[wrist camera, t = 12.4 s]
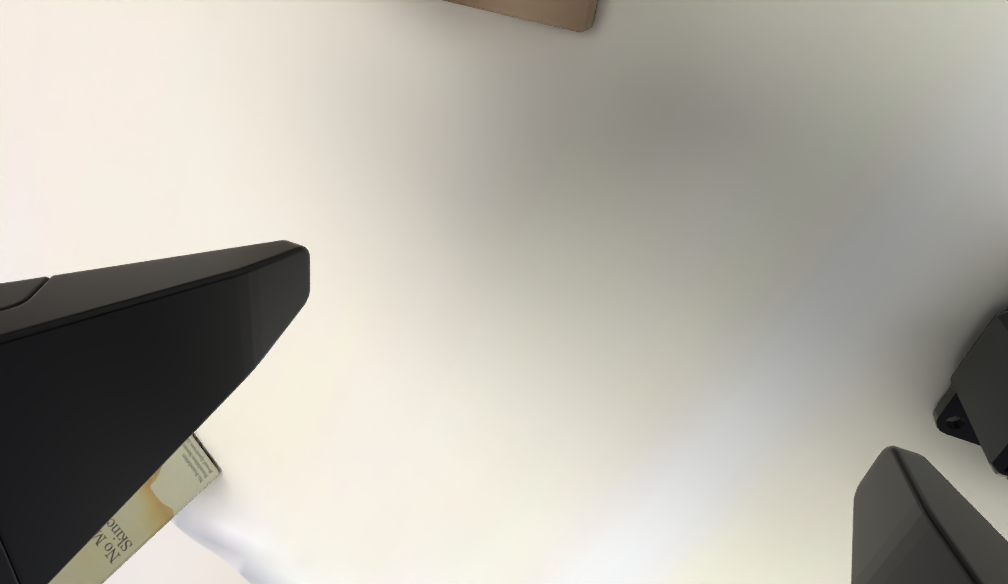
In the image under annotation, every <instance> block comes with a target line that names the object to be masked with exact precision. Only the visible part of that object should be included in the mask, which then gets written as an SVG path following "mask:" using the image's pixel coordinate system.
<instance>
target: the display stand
mask: <svg viewBox="0 0 1008 584" xmlns="http://www.w3.org/2000/svg"><path fill="white" fill-rule="evenodd" d="M444 1H448V2H452V3H457V4H461V5H465V6H470V7H474V8H478V9H482V10H487V11H491V12H495V13H500V14H504V15H508V16H512V17H517V18H521V19H525V20H529V21H534V22H538V23H542V24H547V25H551V26H555V27H559V28H564V29H568V30H572V31H577V32H582V31H584V30H586V29H589V28H591V27H592V24H593V20H594V15H595V11H596V7H597V2H598V0H444Z"/></svg>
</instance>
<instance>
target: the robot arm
mask: <svg viewBox="0 0 1008 584" xmlns="http://www.w3.org/2000/svg"><path fill="white" fill-rule="evenodd" d="M309 293H310V254H309V251H308V250H307V248H306V247H304V246H301V245H299V244H296V243H293V242H290V241H286V240H280V241H274V242H267V243H261V244H254V245H248V246H241V247H235V248H228V249H222V250H216V251H209V252H203V253H196V254H190V255H183V256H177V257H170V258H164V259H157V260H151V261H144V262H138V263H132V264H125V265H119V266H112V267H106V268H99V269H93V270H86V271H80V272H73V273H67V274H60V275H54V276H52V277H51V278H50V279H49V278H48V277H40V278H34V279H27V280H21V281H14V282H7V283H0V584H49V583H50V582H51V581H52V580H53V579H54V578H55V577H56V575H57V574H58V573H59V572H60V571H61V570H62V569H63V568H64V567H65V566H66V565H67V564H68V563H69V562H70V561H71V560H72V559H73V558H74V557H75V556H76V555H77V554H78V553H79V552H80V551H81V549H82V548H83V547H84V546H85V545H86V544H87V543H88V542H89V541H90V540H91V539H92V538H93V537H94V536H95V535H96V534H97V533H98V532H99V531H100V530H101V529H102V528H103V527H104V526H105V525H106V523H107V522H108V521H109V520H110V519H111V518H112V517H113V516H114V515H115V514H116V513H117V512H118V511H119V510H120V509H121V508H122V507H123V506H124V505H125V504H126V503H127V502H128V501H129V500H130V498H131V497H132V496H133V495H134V494H135V493H136V492H137V491H138V490H139V489H140V488H141V487H142V486H143V485H144V484H145V483H146V482H147V481H148V480H149V479H150V478H151V477H152V476H153V475H154V474H155V472H156V471H157V470H158V469H159V468H160V467H161V466H162V465H163V464H164V463H165V462H166V461H167V460H168V459H169V458H170V457H171V456H172V455H173V454H174V453H175V452H176V451H177V450H178V449H179V448H180V446H181V445H182V444H183V443H184V442H185V441H186V440H187V439H188V438H189V437H190V436H191V435H192V434H193V433H194V432H195V431H196V430H197V429H198V428H199V427H200V426H201V425H202V424H203V423H204V421H205V420H206V419H207V418H208V417H209V416H210V415H211V414H212V413H213V412H214V411H215V410H216V409H217V408H218V407H219V406H220V405H221V404H222V403H223V402H224V401H225V400H226V399H227V398H228V397H229V395H230V394H231V393H232V392H233V391H234V390H235V389H236V388H237V387H238V386H239V385H240V384H241V383H242V382H243V381H244V380H245V379H246V378H247V377H248V375H249V374H250V373H251V372H252V371H253V370H254V369H255V368H256V366H257V365H258V364H259V363H260V362H261V360H262V359H263V358H264V357H265V355H266V354H267V353H268V351H269V350H270V349H271V348H272V346H273V345H274V344H275V342H276V341H277V340H278V339H279V337H280V336H281V335H282V333H283V332H284V331H285V329H286V328H287V327H288V326H289V324H290V323H291V322H292V320H293V319H294V318H295V316H296V315H297V314H298V313H299V311H300V310H301V309H302V307H303V306H304V305H305V303H306V301H307V299H308V297H309ZM951 382H952V384H953V385H952V386H951V388H950V389H949V391H948V392H947V393H946V395H945V396H944V398H943V399H942V400H941V402H940V403H939V405H938V406H937V407H936V409H935V411H934V413H933V417H934V421H935V423H936V426H937V428H938V429H939V430H940V431H941V432H943V433H945V434H947V435H950V436H953V437H956V438H959V439H962V440H966V441H969V442H972V443H975V444H978V445H981V446H982V449H983V451H984V453H985V455H986V457H987V459H988V462H989V464H990V466H991V468H992V470H993V471H994V472H995V473H996V474H998V475H1001V476H1004V477H1007V479H1008V308H1007V310H1006V311H1004V312H1002V313H1000V314H998V315H995V316H994V318H993V319H992V320H991V322H990V323H989V325H988V326H987V327H986V329H985V330H984V332H983V333H982V334H981V336H980V337H979V339H978V340H977V341H976V343H975V344H974V346H973V347H972V349H971V350H970V351H969V353H968V354H967V356H966V357H965V358H964V360H963V361H962V363H961V364H960V365H959V367H958V368H957V370H956V371H955V372H954V374H953V375H952V377H951ZM953 416H957V417H960V418H959V419H958V420H957V421H947V419H948V418H949V417H953ZM851 584H1008V542H1007V541H1006V540H1005V538H1004V537H1003V536H1002V535H1001V534H1000V533H999V532H998V531H997V530H996V529H995V528H994V527H993V526H992V525H991V524H990V523H989V522H988V521H987V520H986V519H985V518H984V517H983V516H982V515H981V514H980V513H979V512H978V511H977V510H976V509H975V508H974V507H973V506H972V505H971V504H970V503H969V502H968V501H967V500H966V499H965V498H964V497H963V496H962V495H961V494H960V493H959V492H958V491H957V490H956V489H955V488H954V487H953V486H952V485H951V484H950V483H949V482H948V481H947V480H946V479H945V478H944V476H943V475H942V474H941V473H940V472H939V471H938V470H937V469H936V468H935V467H934V466H933V465H932V464H931V463H930V462H929V461H928V460H927V459H926V458H925V457H923V456H921V455H920V454H917V453H914V452H911V451H908V450H905V449H902V448H899V447H896V446H890V447H886V448H885V449H884V450H883V451H882V452H881V453H880V455H879V456H878V457H877V459H876V460H875V462H874V463H873V465H872V466H871V468H870V469H869V471H868V472H867V473H866V475H865V476H864V478H863V479H862V481H861V482H860V484H859V485H858V487H857V490H856V493H855V496H854V507H853V540H852V573H851Z"/></svg>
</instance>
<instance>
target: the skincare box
mask: <svg viewBox="0 0 1008 584" xmlns="http://www.w3.org/2000/svg"><path fill="white" fill-rule="evenodd" d="M218 475H219V472H218V470H217V468H216V467H215V466H214V465H213V463H212V462H211V461H210V459H209V458H208V456H207V455H206V454H205V452H204V451H203V450H202V448H201V447H200V446H199V444H198V443H197V442H196V440H195V439H194V438H193V436H192V435H191V436H190V437H189V438H188V439H187V440H186V441H185V442H184V443H183V444H182V445H181V446H180V448H179V449H178V450H177V451H176V452H175V453H174V454H173V455H172V456H171V457H170V458H169V459H168V460H167V461H166V462H165V463H164V464H163V465H162V466H161V467H160V468H159V469H158V470H157V471H156V472H155V474H154V475H153V476H152V477H151V478H150V479H149V480H148V481H147V482H146V483H145V484H144V485H143V486H142V487H141V488H140V489H139V490H138V491H137V492H136V493H135V494H134V495H133V496H132V497H131V498H130V500H129V501H128V502H127V503H126V504H125V505H124V506H123V507H122V508H121V509H120V510H119V511H118V512H117V513H116V514H115V515H114V516H113V517H112V518H111V519H110V520H109V521H108V522H107V523H106V525H105V526H104V527H103V528H102V529H101V530H100V531H99V532H98V533H97V534H96V535H95V536H94V537H93V538H92V539H91V540H90V541H89V542H88V543H87V544H86V545H85V546H84V547H83V548H82V549H81V551H80V552H79V553H78V554H77V555H76V556H75V557H74V558H73V559H72V560H71V561H70V562H69V563H68V564H67V565H66V566H65V567H64V568H63V569H62V570H61V571H60V572H59V573H58V574H57V575H56V577H55V578H54V579H53V580H52V581H51V582H50V583H49V584H102V583H104V582H105V581H106V580H107V579H108V578H109V577H110V576H111V575H112V574H113V573H114V572H115V571H116V570H117V569H119V568H120V567H121V566H122V565H123V564H124V563H125V562H126V561H127V560H128V559H129V558H130V557H131V556H132V555H133V554H134V553H136V552H137V551H138V550H139V549H140V548H141V547H142V546H143V545H144V544H145V543H146V542H147V541H148V540H149V539H150V538H152V537H153V536H154V535H155V534H156V533H157V532H158V531H159V530H160V529H161V528H162V527H163V526H164V525H166V524H167V523H168V522H169V521H170V520H171V519H172V518H173V517H174V516H175V515H176V514H177V513H179V512H180V511H181V510H182V509H183V508H184V507H185V506H186V505H187V504H188V503H189V502H190V501H191V500H192V499H194V498H195V497H196V496H197V495H198V494H199V493H200V492H201V491H202V490H203V489H204V488H205V487H206V486H207V485H208V484H209V483H210V482H212V481H213V480H214V479H215V478H216V477H217V476H218Z"/></svg>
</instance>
